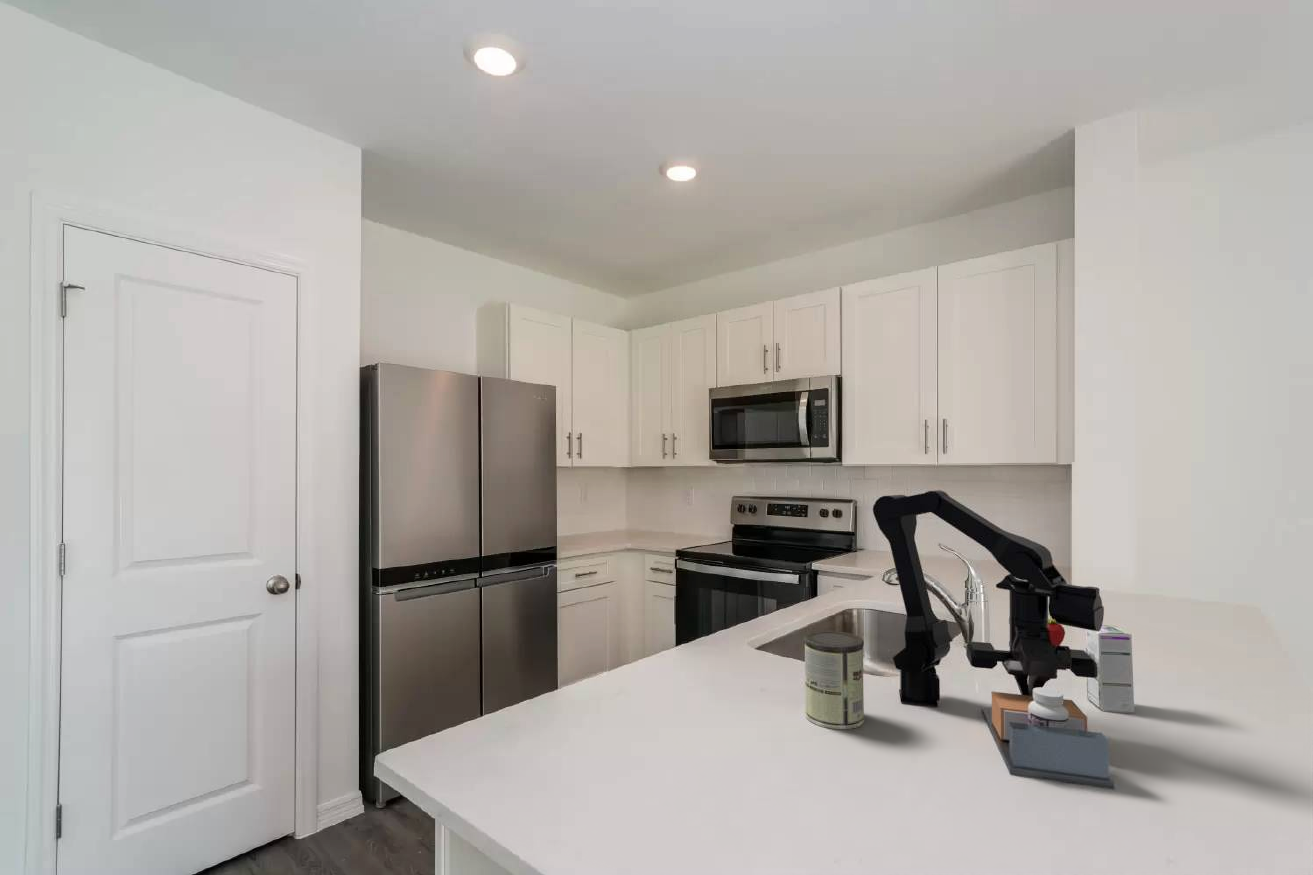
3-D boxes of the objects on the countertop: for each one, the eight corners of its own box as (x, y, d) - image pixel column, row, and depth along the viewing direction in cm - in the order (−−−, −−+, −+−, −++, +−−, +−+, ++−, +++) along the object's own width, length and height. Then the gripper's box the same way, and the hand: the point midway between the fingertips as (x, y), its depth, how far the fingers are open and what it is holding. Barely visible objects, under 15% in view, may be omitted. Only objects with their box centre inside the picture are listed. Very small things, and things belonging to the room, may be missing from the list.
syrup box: (1135, 713, 116) (1134, 633, 116) (1099, 711, 117) (1098, 631, 118) (1119, 702, 122) (1118, 625, 122) (1085, 699, 123) (1084, 623, 123)
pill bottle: (1020, 747, 100) (1019, 685, 100) (1052, 746, 100) (1051, 684, 100) (1044, 764, 94) (1043, 698, 95) (1078, 763, 95) (1076, 697, 95)
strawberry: (1025, 651, 153) (1025, 609, 154) (1051, 649, 155) (1050, 608, 155) (1046, 659, 148) (1045, 615, 148) (1072, 656, 149) (1071, 613, 150)
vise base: (981, 712, 116) (980, 676, 116) (1063, 721, 112) (1062, 684, 112) (1010, 774, 93) (1009, 729, 94) (1114, 789, 89) (1113, 742, 90)
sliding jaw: (991, 720, 109) (991, 691, 109) (1072, 730, 106) (1071, 699, 106) (1001, 740, 102) (1001, 708, 102) (1088, 751, 98) (1088, 718, 98)
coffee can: (810, 702, 120) (810, 627, 121) (867, 712, 116) (867, 634, 116) (798, 723, 111) (798, 641, 112) (860, 734, 107) (859, 649, 107)
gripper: (977, 628, 104) (977, 722, 104) (1110, 637, 98) (1110, 737, 99) (965, 608, 114) (965, 694, 115) (1085, 616, 109) (1085, 706, 109)
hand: (1028, 708), depth 109 cm, fingers closed, pressing on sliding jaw
